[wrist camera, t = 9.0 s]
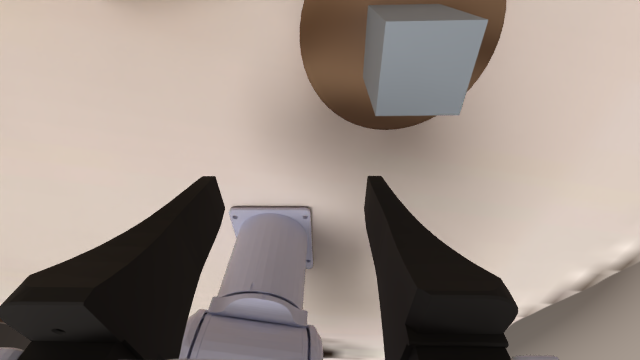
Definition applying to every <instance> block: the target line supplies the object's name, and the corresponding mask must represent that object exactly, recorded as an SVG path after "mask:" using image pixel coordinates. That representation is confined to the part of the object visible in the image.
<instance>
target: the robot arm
mask: <svg viewBox="0 0 640 360" xmlns="http://www.w3.org/2000/svg"><path fill="white" fill-rule="evenodd" d="M224 210H225V206H224V203H223V200H222V196H221V193H220V190H219V187H218V183H217V180H216V177H215V176H203V177H201V178H200V179H198V180H197V181H196V182H194V183H193V184H192V185H191V186H189V187H188V188H187V189H186V190H184V191H183V192H182V193H181V194H179V195H178V196H177V197H176V198H174V199H173V200H172V201H170V202H169V203H168V204H166V205H165V206H164V207H162V208H161V209H160V210H158V211H157V212H155V213H154V214H153V215H151V216H150V217H148V218H147V219H145V220H144V221H142V222H141V223H139V224H138V225H136V226H134V227H133V228H131V229H129V230H128V231H126V232H124V233H123V234H121V235H119V236H117V237H115V238H113V239H111V240H109V241H108V242H106V243H104V244H102V245H100V246H98V247H96V248H94V249H92V250H90V251H87V252H85V253H83V254H81V255H79V256H76V257H74V258H72V259H70V260H67V261H65V262H62V263H60V264H57V265H55V266H52V267H50V268H47V269H44V270H42V271H39V272H37V273H34V274H31V275H29V276H28V277H27V278H26V279H25V281H24V282H23V283H22V284H21V285H20V286H19V287H18V288H17V289H16V290H15V291H14V292H13V293H12V294H11V295H10V296H9V297H8V298H7V299H6V300H5V301H4V303H3V304H2V305H1V306H0V318H1V320H2V321H4V322H5V323H6V324H7V325H9V326H10V327H12V328H13V329H15V330H16V331H18V332H19V333H20V334H22V335H23V336H25V337H26V338H28V339H29V340H31V341H32V342H31V343H30V344H29V345H28V347H27V348H26V349H25V350H21V349H18V348H0V360H323V347H322V341H321V337H320V335H319V334H318V332H317V330H316V328H315V327H314V326H313V325H307V314H308V312H307V311H305V310H303V297H304V283H305V269H311V268H312V267H313V253H312V234H311V214H310V210H309V209H308V208H238V207H234V208H231V209H230V211H229V215H230V218H231V221H232V225H233V228H234V231H235V235H236V238H237V239H236V242H235V245H234V248H233V251H232V254H231V257H230V260H229V263H228V266H227V269H226V272H225V275H224V278H223V281H222V284H221V287H220V290H219V293H218V296H217V297H213V298H212V301H211V303H210V306H209V309H208V310H204V309H199V310H198V311H197V312H196V313H195V314H193V315H192V316H190V317H189V318H188V316H189V312H190V309H191V305H192V301H193V298H194V294H195V291H196V287H197V284H198V281H199V277H200V274H201V272H202V269H203V266H204V264H205V262H206V259H207V257H208V255H209V252H210V250H211V248H212V245H213V243H214V241H215V238H216V236H217V233H218V231H219V229H220V226H221V222H222V219H223V215H224ZM364 211H365V221H366V229H367V234H368V238H369V243H370V247H371V252H372V256H373V260H374V265H375V270H376V275H377V283H378V291H379V300H380V309H381V319H382V329H383V340H384V352H385V360H559V359H558V358H557V357H555V356H551V355H548V356H547V355H519V356H515V357H512V358H510V356H509V354H508V352H507V350H506V348H507V347H508V341H507V339H506V337H505V335H504V332H505V330H506V329H507V328H508V327H509V326H510V324H511V323H512V322H513V321H514V319H515V317H516V316H517V314H518V307H517V305H516V303H515V301H514V299H513V298H512V296H511V294H510V292H509V290H508V289H507V287H506V286H505V284H504V283H503V281H502V280H501V278H499V277H497V276H495V275H494V274H492V273H490V272H488V271H487V270H485V269H483V268H481V267H479V266H478V265H476V264H474V263H473V262H471V261H469V260H468V259H466V258H465V257H463V256H462V255H460V254H459V253H457V252H456V251H454V250H453V249H451V248H450V247H449V246H447V245H446V244H445V243H443V242H442V241H441V240H439V239H438V238H437V237H436V236H434V235H433V234H432V233H431V232H430V231H429V230H427V229H426V228H425V227H424V226H423V225H422V224H421V223H420V222H419V221H418V220H417V219H416V218H415V217H414V216H413V215H412V214H411V213H410V212H409V211H408V210H407V208H406V207H405V206H404V205H403V204H402V203H401V201H400V200H399V199H398V198H397V197H396V195H395V194H394V193H393V191H392V190H391V189H390V187H389V186H388V185H387V183H386V182H385V180H384V179H383V178H382V177H381V176H368V179H367V188H366V197H365V206H364ZM234 215H235V216H234Z"/></svg>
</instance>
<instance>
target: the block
mask: <svg viewBox="0 0 640 360" xmlns="http://www.w3.org/2000/svg"><path fill="white" fill-rule="evenodd" d="M487 23H488V19H485V18H482V17H479V16H476V15H472V14H469V13H466V12H463V11H460V10H457V9H454V8H451V7H448V6H444V5H441V4H407V5H368V13H367V26H366V40H365V54H364V67H363V79H364V82H365V85H366V88H367V92H368V95H369V98H370V101H371V104H372V107H373V110H374V113H375V116H425V115H460V111H461V108H462V105H463V102H464V98H465V95H466V92H467V88H468V85H469V82H470V79H471V75H472V72H473V69H474V66H475V62H476V59H477V56H478V52H479V49H480V46H481V43H482V39H483V36H484V33H485V29H486V26H487Z"/></svg>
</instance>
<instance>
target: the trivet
mask: <svg viewBox="0 0 640 360" xmlns="http://www.w3.org/2000/svg"><path fill="white" fill-rule="evenodd" d="M407 4H441V5H444V6H448V7H451V8H454V9H457V10H460V11H463V12H466V13H469V14H472V15H476V16H479V17H482V18H485V19H488V23H487V26H486V29H485V33H484V36H483V39H482V43H481V46H480V49H479V52H478V56H477V59H476V62H475V66H474V69H473V72H472V75H471V79H470V82H469V85H468V88H467V91H468V90H469V89H470V88H471V87H472V86H473V84H474V83H475V82H476V81H477V79H478V78H479V77H480V75H481V74H482V72H483V71H484V69H485V68H486V66H487V64H488V63H489V61H490V59H491V57H492V55H493V53H494V51H495V48H496V46H497V43H498V41H499V38H500V34H501V31H502V27H503V24H504V17H505V11H506V0H304V4H303V9H302V13H301V22H300V48H301V56H302V60H303V64H304V68H305V71H306V73H307V76H308V79H309V81H310V83H311V85H312V87H313V88H314V90H315V92H316V93H317V94H318V96H319V97H320V99H321V100H322V101H323V102H324V103H325V104H326V105H327V106H328V108H330V109H331V110H332V111H333V112H335V113H336V114H337V115H339V116H340V117H342V118H343V119H345V120H347V121H349V122H351V123H353V124H356V125H359V126H362V127H366V128H372V129H382V130H389V129H400V128H405V127H410V126H413V125H416V124H419V123H422V122H424V121H427V120H429V119H431V118H433V117H435V116H437V115H425V116H375V113H374V110H373V107H372V104H371V101H370V98H369V95H368V92H367V88H366V85H365V82H364V79H363V67H364V54H365V40H366V26H367V13H368V5H407Z"/></svg>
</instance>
